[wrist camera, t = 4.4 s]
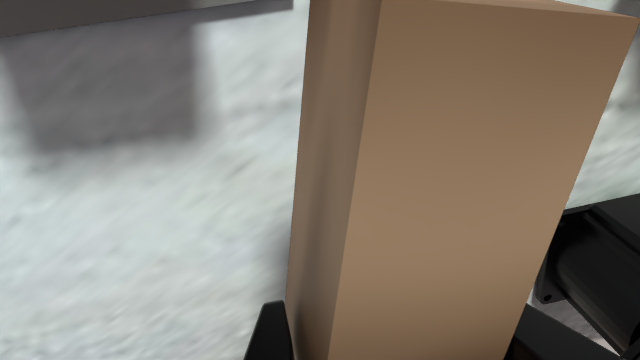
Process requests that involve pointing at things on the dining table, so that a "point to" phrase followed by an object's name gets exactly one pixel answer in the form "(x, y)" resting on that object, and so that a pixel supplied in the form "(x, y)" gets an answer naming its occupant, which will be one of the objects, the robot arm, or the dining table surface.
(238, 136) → the dining table surface
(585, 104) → the plain wood plank
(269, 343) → the robot arm
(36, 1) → the mat
